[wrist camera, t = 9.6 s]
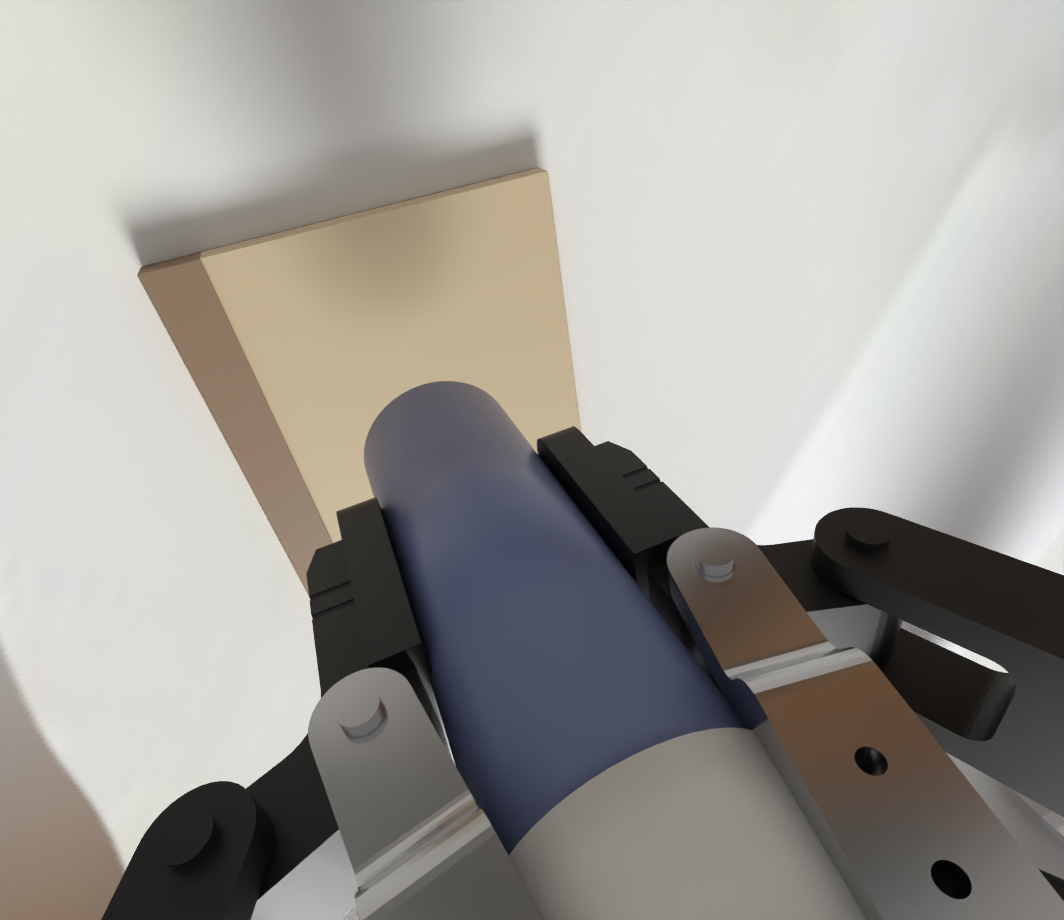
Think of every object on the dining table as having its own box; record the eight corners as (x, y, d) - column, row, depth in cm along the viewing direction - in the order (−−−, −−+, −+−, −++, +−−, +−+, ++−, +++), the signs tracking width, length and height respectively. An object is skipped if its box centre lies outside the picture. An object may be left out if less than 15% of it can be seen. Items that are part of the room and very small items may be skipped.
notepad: (538, 167, 15) (548, 171, 14) (592, 573, 23) (601, 585, 22) (141, 266, 13) (136, 274, 12) (355, 672, 21) (358, 688, 20)
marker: (499, 354, 13) (963, 868, 4) (526, 485, 15) (882, 1006, 6) (334, 408, 12) (532, 1137, 4) (386, 537, 14) (590, 1200, 6)
